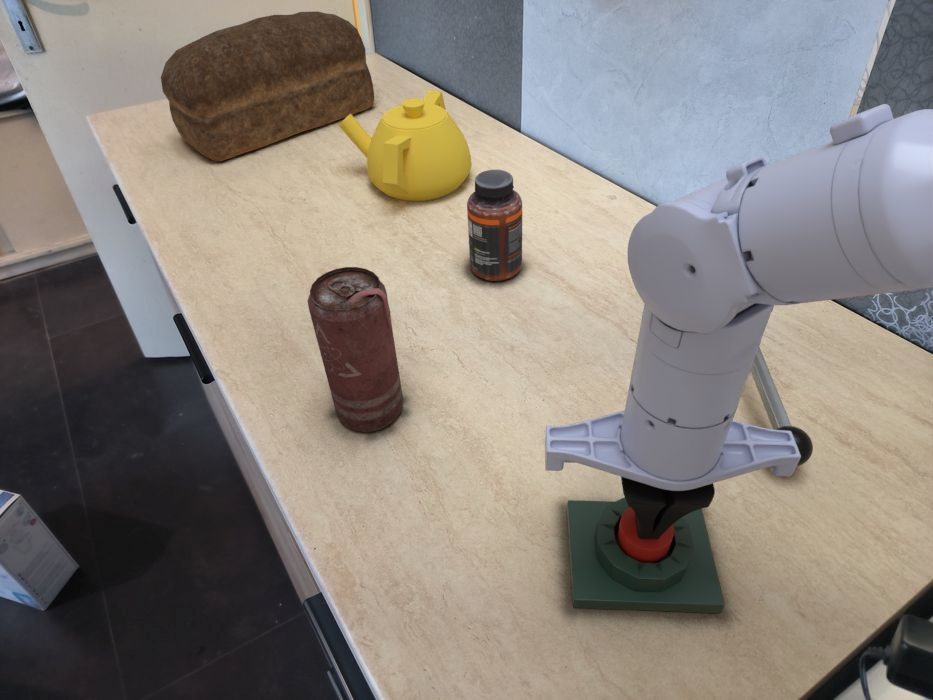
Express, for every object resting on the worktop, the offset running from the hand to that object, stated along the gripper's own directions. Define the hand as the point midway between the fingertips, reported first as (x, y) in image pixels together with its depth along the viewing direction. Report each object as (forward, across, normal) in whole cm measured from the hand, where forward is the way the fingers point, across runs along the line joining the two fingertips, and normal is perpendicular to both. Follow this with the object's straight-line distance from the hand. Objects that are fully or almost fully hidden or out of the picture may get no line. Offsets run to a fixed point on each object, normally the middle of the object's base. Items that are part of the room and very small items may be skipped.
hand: (646, 526), depth 45 cm
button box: (+4, 0, 0) cm, 4 cm away
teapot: (+4, +24, -57) cm, 62 cm away
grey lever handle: (+1, -11, -20) cm, 23 cm away
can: (+4, +22, -14) cm, 27 cm away
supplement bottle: (+4, +11, -36) cm, 38 cm away
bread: (+4, +48, -76) cm, 90 cm away
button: (+2, 0, 0) cm, 2 cm away
